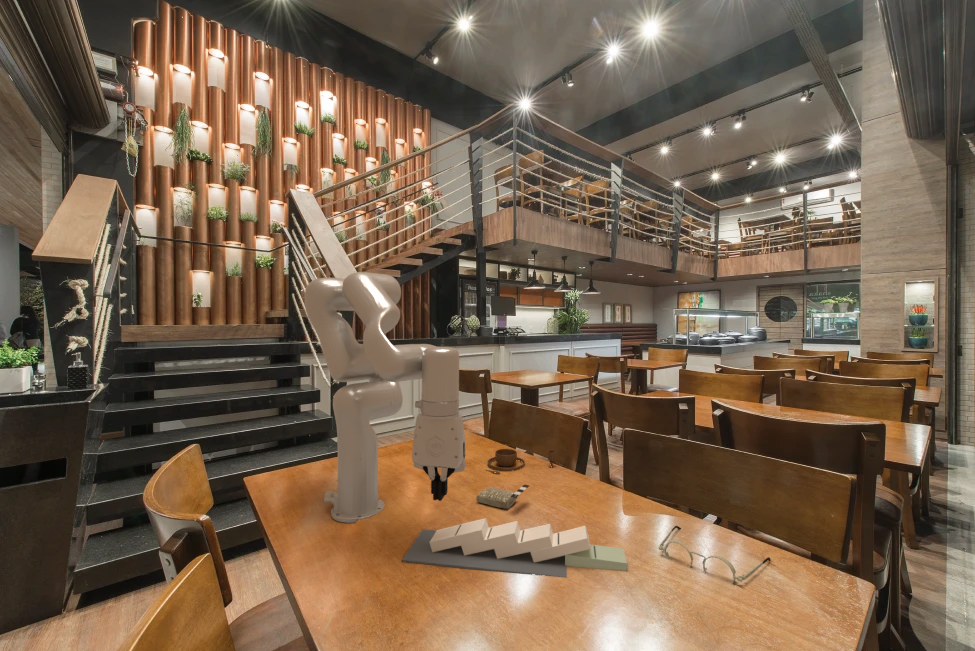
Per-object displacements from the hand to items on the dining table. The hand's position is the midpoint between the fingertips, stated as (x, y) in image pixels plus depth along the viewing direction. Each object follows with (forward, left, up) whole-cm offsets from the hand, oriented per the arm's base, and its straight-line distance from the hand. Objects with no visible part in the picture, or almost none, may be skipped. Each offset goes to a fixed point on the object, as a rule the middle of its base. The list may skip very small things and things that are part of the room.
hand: (439, 497), depth 85 cm
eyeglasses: (+53, +5, -11) cm, 54 cm away
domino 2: (+6, 0, -9) cm, 10 cm away
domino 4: (+19, 0, -9) cm, 21 cm away
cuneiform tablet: (+15, +20, -8) cm, 26 cm away
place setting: (+10, +49, -11) cm, 52 cm away
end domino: (+25, 0, -9) cm, 27 cm away
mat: (+10, 0, -10) cm, 14 cm away
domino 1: (-1, 0, -9) cm, 9 cm away
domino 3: (+12, 0, -9) cm, 15 cm away
